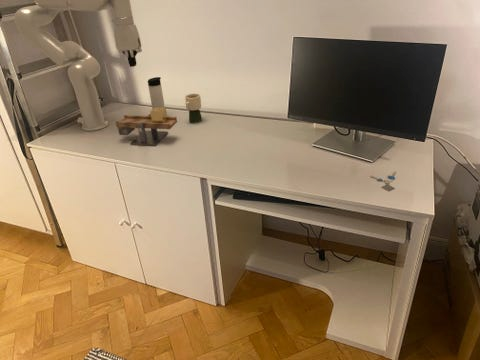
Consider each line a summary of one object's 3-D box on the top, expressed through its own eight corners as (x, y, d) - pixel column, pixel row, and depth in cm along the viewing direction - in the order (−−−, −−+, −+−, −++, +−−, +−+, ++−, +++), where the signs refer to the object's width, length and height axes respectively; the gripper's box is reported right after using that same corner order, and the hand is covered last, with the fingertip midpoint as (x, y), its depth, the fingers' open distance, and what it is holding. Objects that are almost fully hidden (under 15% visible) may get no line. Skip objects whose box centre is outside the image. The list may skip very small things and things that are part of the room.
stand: (130, 145, 162) (125, 124, 157) (144, 132, 174) (140, 113, 169) (155, 146, 159) (151, 125, 155) (168, 133, 171) (165, 113, 166)
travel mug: (165, 118, 189) (159, 79, 179) (152, 119, 189) (145, 79, 179) (167, 114, 194) (161, 75, 184) (155, 114, 194) (148, 76, 184)
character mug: (196, 116, 188) (193, 91, 182) (207, 118, 185) (205, 93, 178) (183, 124, 180) (179, 98, 174) (194, 126, 177) (191, 99, 171)
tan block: (152, 124, 159) (150, 111, 156) (157, 120, 164) (155, 107, 161) (163, 124, 158) (161, 111, 155) (167, 120, 163) (165, 107, 160)
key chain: (394, 193, 119) (395, 191, 118) (367, 189, 121) (368, 187, 121) (396, 172, 130) (396, 170, 129) (371, 169, 133) (371, 167, 132)
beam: (118, 135, 164) (115, 122, 161) (127, 128, 171) (124, 115, 168) (171, 138, 159) (169, 124, 156) (178, 130, 166) (176, 116, 163)
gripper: (104, 23, 155) (113, 68, 164) (136, 22, 152) (144, 68, 161) (113, 21, 161) (122, 64, 170) (144, 20, 158) (152, 64, 167)
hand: (133, 65), depth 166 cm, fingers closed
